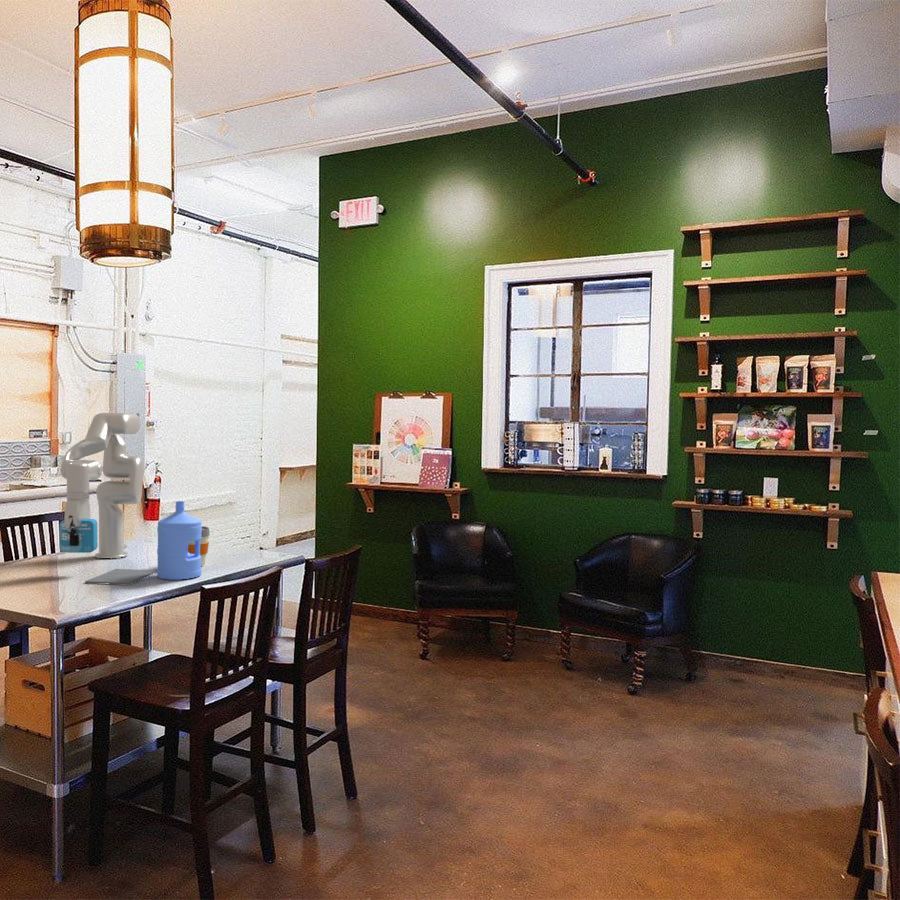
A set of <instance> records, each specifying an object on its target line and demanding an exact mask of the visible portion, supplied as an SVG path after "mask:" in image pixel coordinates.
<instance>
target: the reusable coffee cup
mask: <svg viewBox="0 0 900 900" xmlns="http://www.w3.org/2000/svg"><path fill="white" fill-rule="evenodd" d="M209 538H210V527H207V526H203V525H202V532H201V539H200V556H201V566H203V567H204V565H206V558H207V554H208V552H209V551H208V550H209V544H210V541H209ZM188 553H190V554H195V541H189V542H188Z"/></svg>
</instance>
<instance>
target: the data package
mask: <svg viewBox="0 0 900 900" xmlns="http://www.w3.org/2000/svg"><path fill="white" fill-rule="evenodd" d="M58 526H59V530H58V531H59V534H58V535H59V551H60V552H61V553H64V554H67V553H69V554H70V553H71V554H72V553H73V554H74V553H78V554H79V553H80V554H81V553H83V554H85V553H87V554H89V553H93V552H94V551H95V550H97V549H98V521H97V520H96V519H95V518H90V519H86V520H82V522H81V526H80V527H79V528H78V534H77V535H79V546H70V535H69V532H68V531H67V529H66V527H65V519H63V520H60V522H59V525H58ZM72 527H75V525H72ZM73 529H74V528H73ZM74 531H75V529H74Z"/></svg>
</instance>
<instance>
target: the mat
mask: <svg viewBox="0 0 900 900" xmlns="http://www.w3.org/2000/svg"><path fill="white" fill-rule="evenodd" d="M157 570H158V569H157ZM157 570H154V569H130V568H129V569H128V568H125V569H124V568H115V569H113V570H110V571H107V572H104V573H102V574H99V575H97V576H94V577H92V578H90V579H88V580H85V581H84V584H86V583H109V584H108V585H112V584H130V585H132V584H131V583H133V582H135V581H137V582H139V581H141V580H143V579H142V578H144V577H146V578H148V577H150V576H152V575H154V574H153V573H155V572H157ZM151 574H152V575H151ZM155 574H156V573H155ZM149 575H150V576H149ZM147 576H148V577H147ZM140 579H141V580H140ZM144 579H145V578H144ZM138 580H139V581H138ZM135 583H136V582H135ZM133 584H134V583H133Z"/></svg>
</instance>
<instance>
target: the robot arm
mask: <svg viewBox="0 0 900 900" xmlns="http://www.w3.org/2000/svg"><path fill="white" fill-rule="evenodd" d="M90 422H91V423H90V425H89V428H88V430H87V433H86V435H85V438H84V439H82V440H79V442H77V443H76V444H74V445H73V446H71V447H70V448H69V449H68V450H67V451H66V453H65V455H64V457H63V460H62V462H61V464H60V465H61V466H60V474H61V476H62V477H63V478H64V479H65V480H66V503H65V508H64V520H65V527H66V529H67V531H68V532H69V535H70V546H79V535H77V534H78V528H79V527H80V526H81V522H82V520H86V519H91V505H90V481H94V480H97V479H100V477H101V476H102V475H103V476H104V477H105V478H109V479H127V480H128V479H129V481H119V480H117V481H116V480H108V481H102V482H100V483H99V484H98V485H97V487H96V499H97V505H98V552H97V553H95V554H94V558H95V557H97V558H96V559H99V558H111V559H110V560H113V559H112V558H116V559H122V558H121V557H123V558H126V557H127V556H129V555H128V552H127V551H124V549H127V548H128V544H126V543H125V540H124V539H125V538H124V537H125V536H124V534H125V533H124V532H125V520H124V519H125V517H124V516H125V515H124V512H123V510H122V508H121V507H120V506H119V505H137V504H139V503H140V502H141V500H142V495H143V486H144V484H143V483H144V471H145V470H144V468H145V467H144V461H143V460H142V458H141V457H139V456H137V455H127V443H126V442H125V440H124V439H123V437H122V436H121V435H134V434H137V433H138V432H139V431H140V429H141V420H140V417H139V415H137V414H136V413H124V412H99V413H96V414H95V415H94V416H93V418H92V421H90ZM101 452H103V460H102V463H101V462H100V461H98V460H94V459H84V458H85V457H89V456H92V455H96V454H99V453H101ZM72 525H75V527H72ZM73 528H74V529H75V531H74V529H73ZM125 556H126V557H125Z"/></svg>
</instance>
